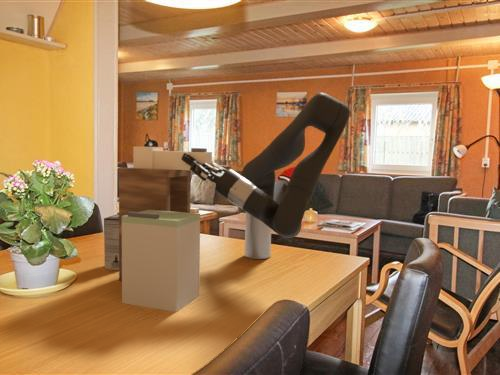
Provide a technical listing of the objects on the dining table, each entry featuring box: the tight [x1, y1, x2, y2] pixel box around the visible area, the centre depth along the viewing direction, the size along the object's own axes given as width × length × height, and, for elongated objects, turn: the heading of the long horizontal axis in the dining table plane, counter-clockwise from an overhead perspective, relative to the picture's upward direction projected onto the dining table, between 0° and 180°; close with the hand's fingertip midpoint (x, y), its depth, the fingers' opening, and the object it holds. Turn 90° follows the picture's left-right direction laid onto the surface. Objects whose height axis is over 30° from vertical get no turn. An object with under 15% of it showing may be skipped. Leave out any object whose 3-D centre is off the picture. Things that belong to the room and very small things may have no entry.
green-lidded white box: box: [121, 210, 201, 313], centre depth 108 cm, size 12×15×22 cm
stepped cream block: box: [132, 146, 213, 170], centre depth 122 cm, size 6×22×6 cm, turn 71°
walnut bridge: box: [118, 166, 192, 282], centre depth 125 cm, size 14×15×32 cm
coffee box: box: [103, 213, 119, 271], centre depth 137 cm, size 9×6×16 cm
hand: (188, 156), depth 120 cm, fingers open, 5 cm apart
